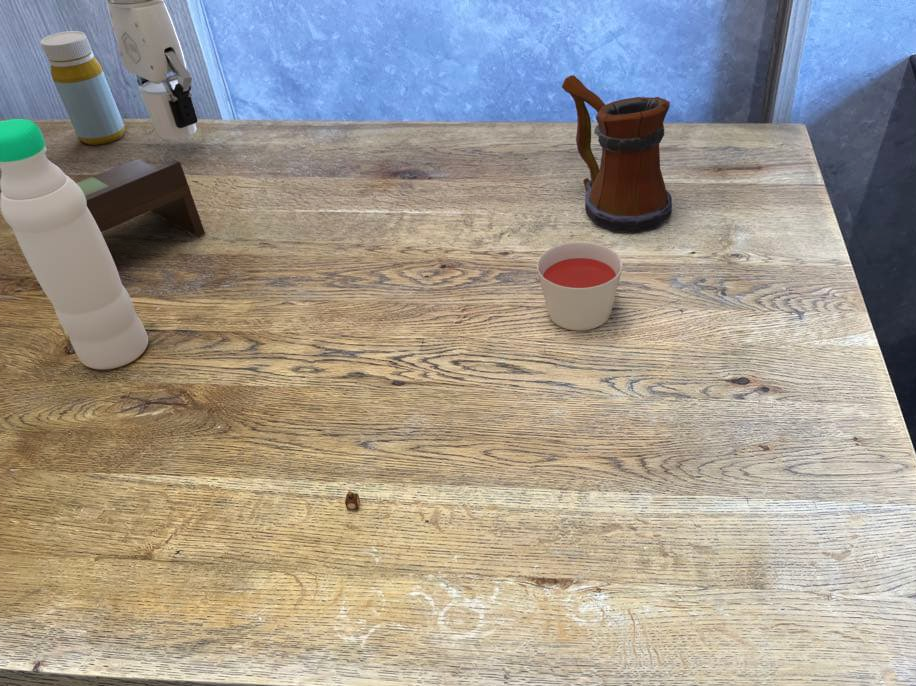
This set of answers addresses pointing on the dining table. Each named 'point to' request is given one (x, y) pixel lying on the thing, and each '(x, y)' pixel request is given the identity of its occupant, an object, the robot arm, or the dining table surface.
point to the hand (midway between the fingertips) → (173, 117)
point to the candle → (579, 283)
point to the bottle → (83, 88)
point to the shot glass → (163, 111)
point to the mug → (623, 160)
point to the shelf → (142, 195)
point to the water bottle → (66, 251)
